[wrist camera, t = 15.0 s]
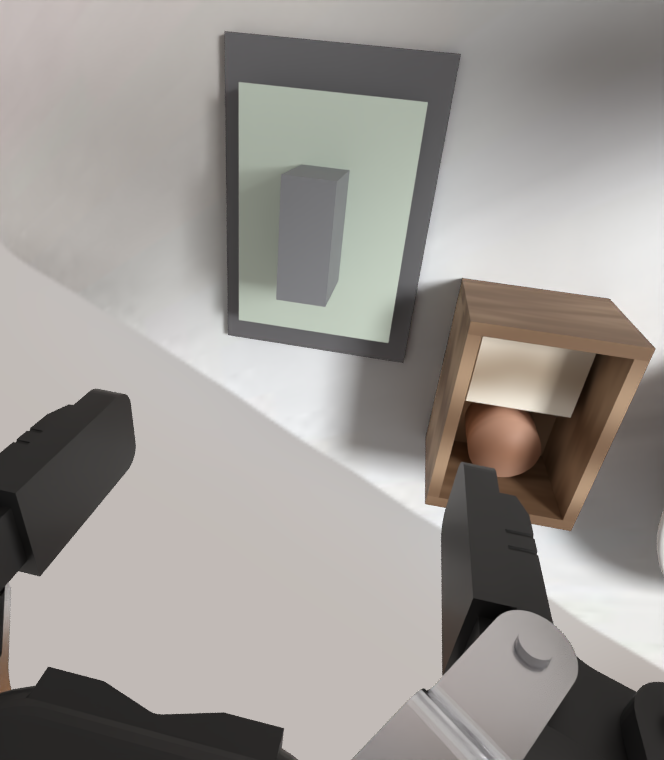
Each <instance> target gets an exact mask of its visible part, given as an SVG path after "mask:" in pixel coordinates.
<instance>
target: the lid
mask: <svg viewBox="0 0 664 760" xmlns="http://www.w3.org/2000/svg"><path fill="white" fill-rule="evenodd" d="M427 105H428V102H421V101H412V100H403V99H393V98H384V97H374V96H365V95H356V94H346V93H337V92H328V91H318V90H309V89H300V88H290V87H281V86H272V85H262V84H253V83H243V82H239V320H243V321H249V322H256V323H262V324H269V325H275V326H281V327H288V328H294V329H301V330H307V331H314V332H320V333H327V334H333V335H339V336H346V337H352V338H359V339H365V340H372V341H378V342H384V343H388V342H389V336H390V330H391V324H392V318H393V312H394V305H395V299H396V293H397V287H398V281H399V275H400V269H401V263H402V257H403V251H404V245H405V239H406V233H407V227H408V221H409V214H410V208H411V202H412V196H413V190H414V184H415V178H416V172H417V166H418V160H419V154H420V148H421V142H422V136H423V130H424V123H425V117H426V111H427Z"/></svg>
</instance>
